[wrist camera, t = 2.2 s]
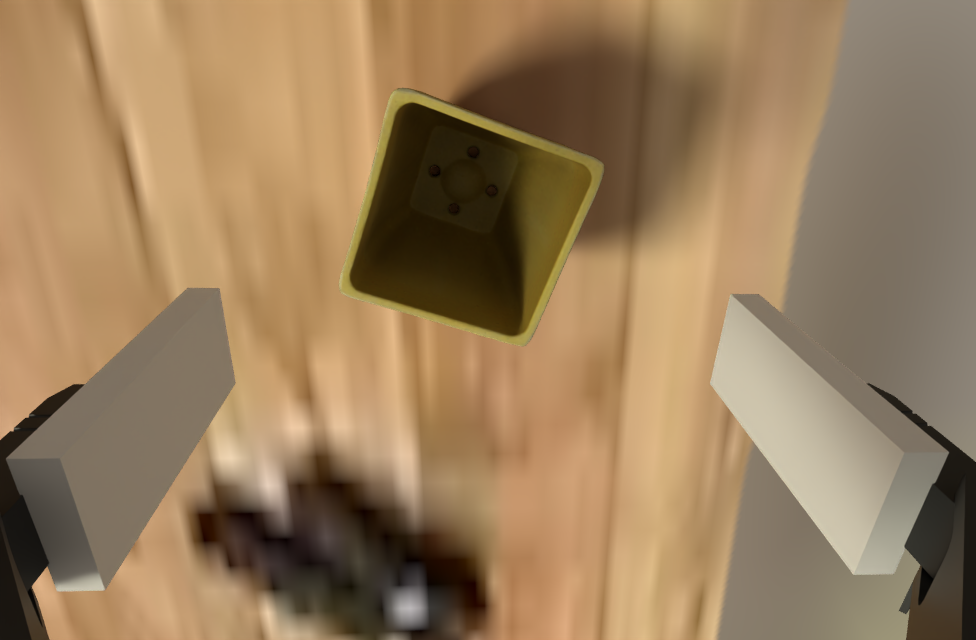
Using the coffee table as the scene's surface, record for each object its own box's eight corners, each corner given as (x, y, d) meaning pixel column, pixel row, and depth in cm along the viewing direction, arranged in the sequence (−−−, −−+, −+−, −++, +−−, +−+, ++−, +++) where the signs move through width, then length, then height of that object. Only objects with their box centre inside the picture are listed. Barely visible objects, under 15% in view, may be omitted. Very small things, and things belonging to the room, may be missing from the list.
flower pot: (509, 278, 35) (528, 352, 26) (363, 231, 33) (334, 295, 25) (569, 130, 31) (610, 163, 23) (408, 69, 29) (392, 82, 21)
